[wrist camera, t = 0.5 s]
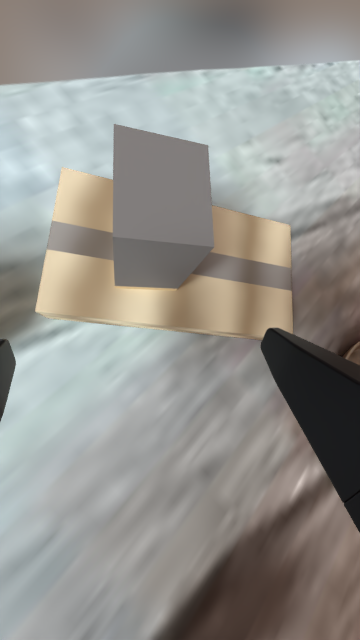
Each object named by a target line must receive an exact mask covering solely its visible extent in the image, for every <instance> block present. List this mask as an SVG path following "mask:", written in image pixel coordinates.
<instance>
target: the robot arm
mask: <svg viewBox="0 0 360 640" xmlns="http://www.w3.org/2000/svg"><path fill="white" fill-rule="evenodd" d="M261 350H262V353H263V355H264V357H265V359H266V362H267V364H268V366H269V368H270V371H271V373H272V375H273V377H274V380H275V382H276V384H277V386H278V387H279V389H280V391H281V393H282V395H283V396H284V398H285V400H286V402H287V403H288V405H289V407H290V409H291V411H292V412H293V414H294V416H295V418H296V420H297V421H298V423H299V425H300V427H301V428H302V430H303V432H304V434H305V436H306V437H307V439H308V441H309V443H310V445H311V446H312V448H313V450H314V452H315V453H316V455H317V457H318V459H319V461H320V462H321V464H322V466H323V468H324V470H325V471H326V473H327V475H328V477H329V478H330V480H331V482H332V484H333V486H334V487H335V489H336V491H337V493H338V495H339V496H340V498H341V500H342V502H343V503H344V506H345V507H346V509H347V511H348V513H349V515H350V516H351V518H352V520H353V522H354V524H355V525H356V527H357V529H358V531H359V532H360V365H358V364H356V363H354V362H352V361H350V360H347V359H345V358H343V357H341V356H339V355H337V354H334V353H332V352H330V351H328V350H326V349H324V348H321V347H319V346H317V345H315V344H313V343H311V342H308V341H306V340H304V339H302V338H300V337H298V336H296V335H293V334H291V333H289V332H287V331H285V330H283V329H280V328H268V329H267V330H266V332H265V335H264V337H263V340H262V342H261ZM15 366H16V361H15V357H14V354H13V351H12V349H11V346H10V343H9V341H8V340H6V339H0V421H1V418H2V415H3V413H4V409H5V406H6V402H7V398H8V394H9V390H10V386H11V382H12V378H13V374H14V370H15Z"/></svg>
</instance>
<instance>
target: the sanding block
mask: <svg viewBox="0 0 360 640" xmlns="http://www.w3.org/2000/svg"><path fill="white" fill-rule="evenodd" d="M213 248H214V234H213V218H212V202H211V185H210V169H209V153H208V145H204V144H200V143H195V142H191V141H186V140H182V139H178V138H173V137H169V136H165V135H160V134H156V133H151V132H147V131H143V130H138V129H134V128H130V127H125V126H121V125H116V124H114V160H113V258H114V281H115V288H122V289H145V290H168V291H176V290H177V289H178V288H179V287H180V286H181V284H182V283H183V282H184V281H185V280H186V279H187V278H188V277H189V275H190V274H191V273H192V272H193V271H194V270H195V269H196V267H197V266H198V265H199V264H200V263H201V262H202V261H203V259H204V258H205V257H206V256H207V255H208V254H209V253H210V251H211V250H212V249H213Z"/></svg>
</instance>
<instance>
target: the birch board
mask: <svg viewBox="0 0 360 640" xmlns="http://www.w3.org/2000/svg"><path fill="white" fill-rule="evenodd" d="M212 218H213V234H214V248H213V249H212V250H211V251H210V253H209V254H208V255H207V256H206V257H205V258H204V259H203V261H202V262H201V263H200V264H199V265H198V266H197V267H196V269H195V270H194V271H193V272H192V273H191V274H190V275H189V277H188V278H187V279H186V280H185V281H184V282H183V283H182V284H181V286H180V287H179V288H178V289H177V290H176V291H168V290H145V289H122V288H115V281H114V258H113V180H111V179H107V178H103V177H99V176H95V175H91V174H87V173H83V172H79V171H75V170H71V169H67V168H63V167H62V170H61V175H60V180H59V186H58V191H57V196H56V202H55V207H54V212H53V218H52V223H51V228H50V234H49V239H48V245H47V250H46V255H45V261H44V266H43V271H42V277H41V282H40V287H39V293H38V298H37V303H36V309H35V312H37V313H39V314H41V315H42V316H44V317H46V318H49V319H59V320H69V321H79V322H89V323H99V324H109V325H119V326H128V327H138V328H148V329H158V330H168V331H178V332H188V333H198V334H208V335H217V336H227V337H237V338H247V339H257V340H263V337H264V335H265V332H266V330H267V329H268V328H280V329H283V330H285V331H287V332H289V333H291V334H293V314H292V274H291V234H290V225H287V224H283V223H279V222H275V221H271V220H267V219H264V218H260V217H256V216H252V215H248V214H244V213H240V212H236V211H232V210H228V209H224V208H220V207H216V206H213V205H212Z"/></svg>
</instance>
